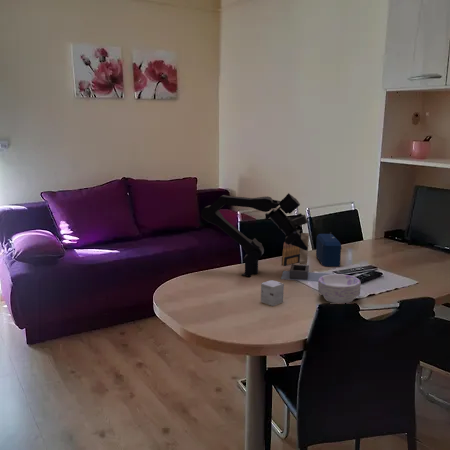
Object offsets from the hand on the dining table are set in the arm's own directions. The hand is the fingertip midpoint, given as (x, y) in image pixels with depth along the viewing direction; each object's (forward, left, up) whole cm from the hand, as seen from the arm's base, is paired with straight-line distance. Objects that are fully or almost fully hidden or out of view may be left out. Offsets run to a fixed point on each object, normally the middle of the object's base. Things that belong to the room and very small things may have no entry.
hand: (307, 248), depth 194 cm
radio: (+29, 0, -14) cm, 32 cm away
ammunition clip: (+15, +13, -14) cm, 24 cm away
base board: (+1, -2, -13) cm, 13 cm away
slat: (0, +1, -7) cm, 7 cm away
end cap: (-1, +3, -12) cm, 13 cm away
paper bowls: (-17, -20, -14) cm, 30 cm away
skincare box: (-32, 0, -14) cm, 35 cm away
